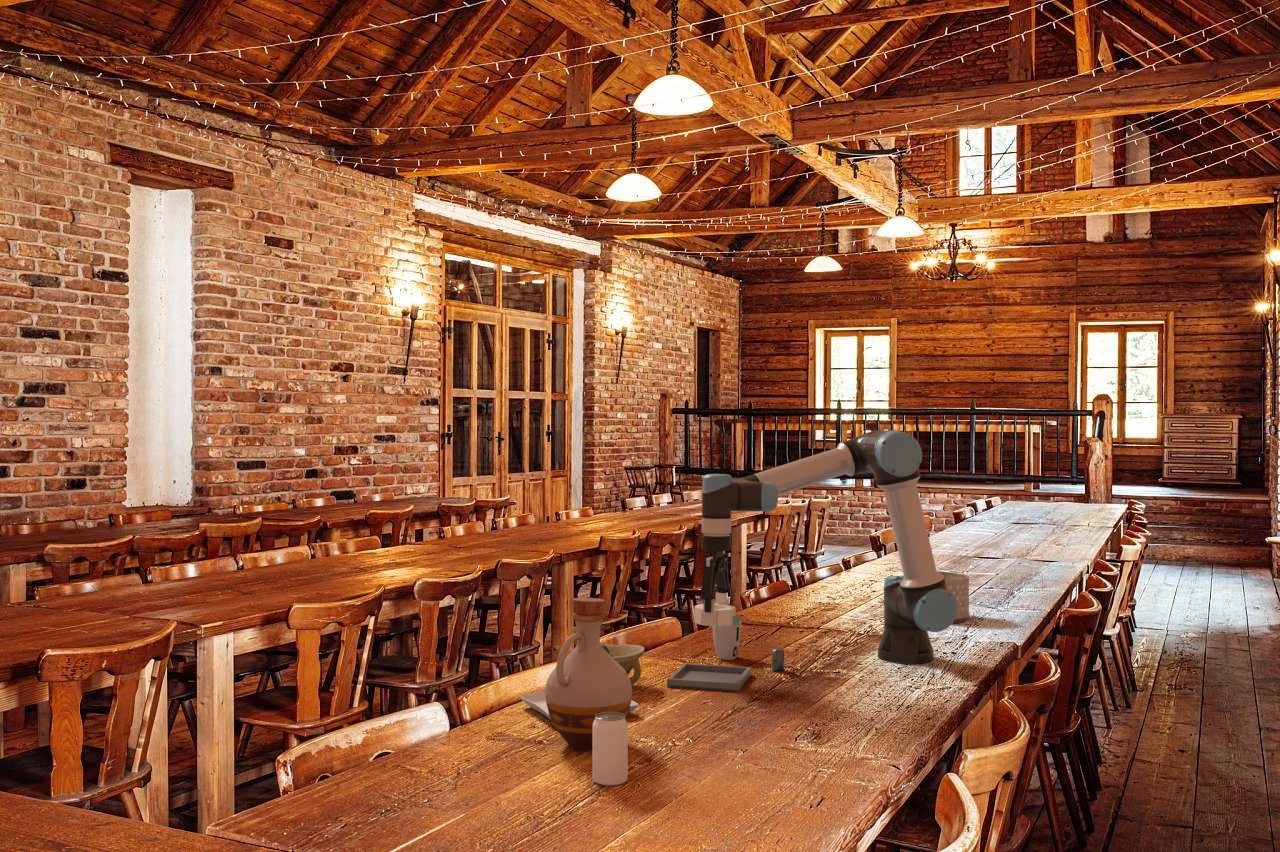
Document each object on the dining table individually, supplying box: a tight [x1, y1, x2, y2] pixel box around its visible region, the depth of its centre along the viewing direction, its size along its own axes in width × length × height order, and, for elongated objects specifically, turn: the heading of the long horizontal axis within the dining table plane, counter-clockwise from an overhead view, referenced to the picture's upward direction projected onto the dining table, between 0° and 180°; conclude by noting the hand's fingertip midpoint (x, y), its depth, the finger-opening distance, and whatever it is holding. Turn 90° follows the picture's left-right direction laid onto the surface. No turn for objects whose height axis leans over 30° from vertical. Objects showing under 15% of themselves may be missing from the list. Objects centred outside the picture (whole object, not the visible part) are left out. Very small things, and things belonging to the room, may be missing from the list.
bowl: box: [601, 644, 646, 686], centre depth 268 cm, size 18×18×10 cm
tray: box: [666, 662, 752, 693], centre depth 274 cm, size 18×18×2 cm
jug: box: [544, 597, 633, 751], centre depth 219 cm, size 20×18×30 cm
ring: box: [693, 602, 741, 627], centre depth 275 cm, size 10×12×4 cm
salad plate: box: [519, 690, 639, 720], centre depth 245 cm, size 21×21×3 cm
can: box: [592, 712, 629, 787], centre depth 198 cm, size 6×6×12 cm
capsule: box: [771, 648, 785, 673], centre depth 285 cm, size 3×3×6 cm
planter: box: [938, 571, 970, 623], centre depth 359 cm, size 19×19×14 cm
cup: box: [711, 621, 742, 661], centre depth 300 cm, size 8×8×10 cm
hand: (714, 621), depth 275 cm, fingers closed on ring, 10 cm apart
